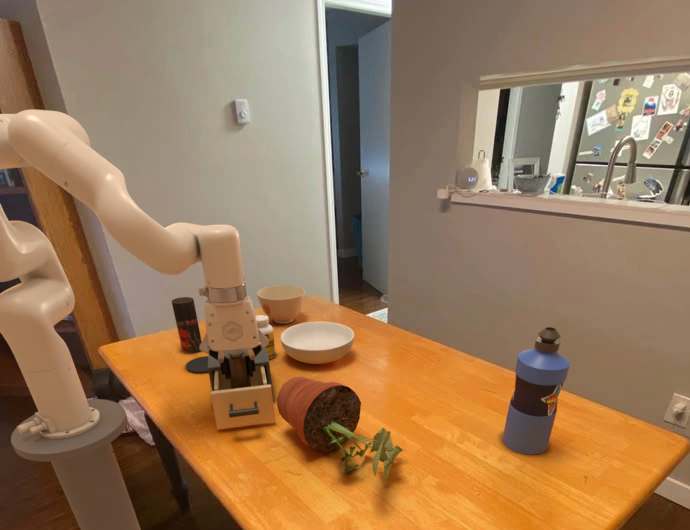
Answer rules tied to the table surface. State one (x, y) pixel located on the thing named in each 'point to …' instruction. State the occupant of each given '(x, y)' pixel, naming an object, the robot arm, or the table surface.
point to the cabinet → (259, 359)
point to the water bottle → (536, 395)
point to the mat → (198, 365)
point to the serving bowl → (317, 341)
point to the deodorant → (187, 324)
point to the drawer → (242, 401)
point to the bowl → (281, 302)
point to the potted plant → (331, 420)
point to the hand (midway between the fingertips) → (239, 374)
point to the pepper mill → (238, 369)
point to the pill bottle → (266, 333)
